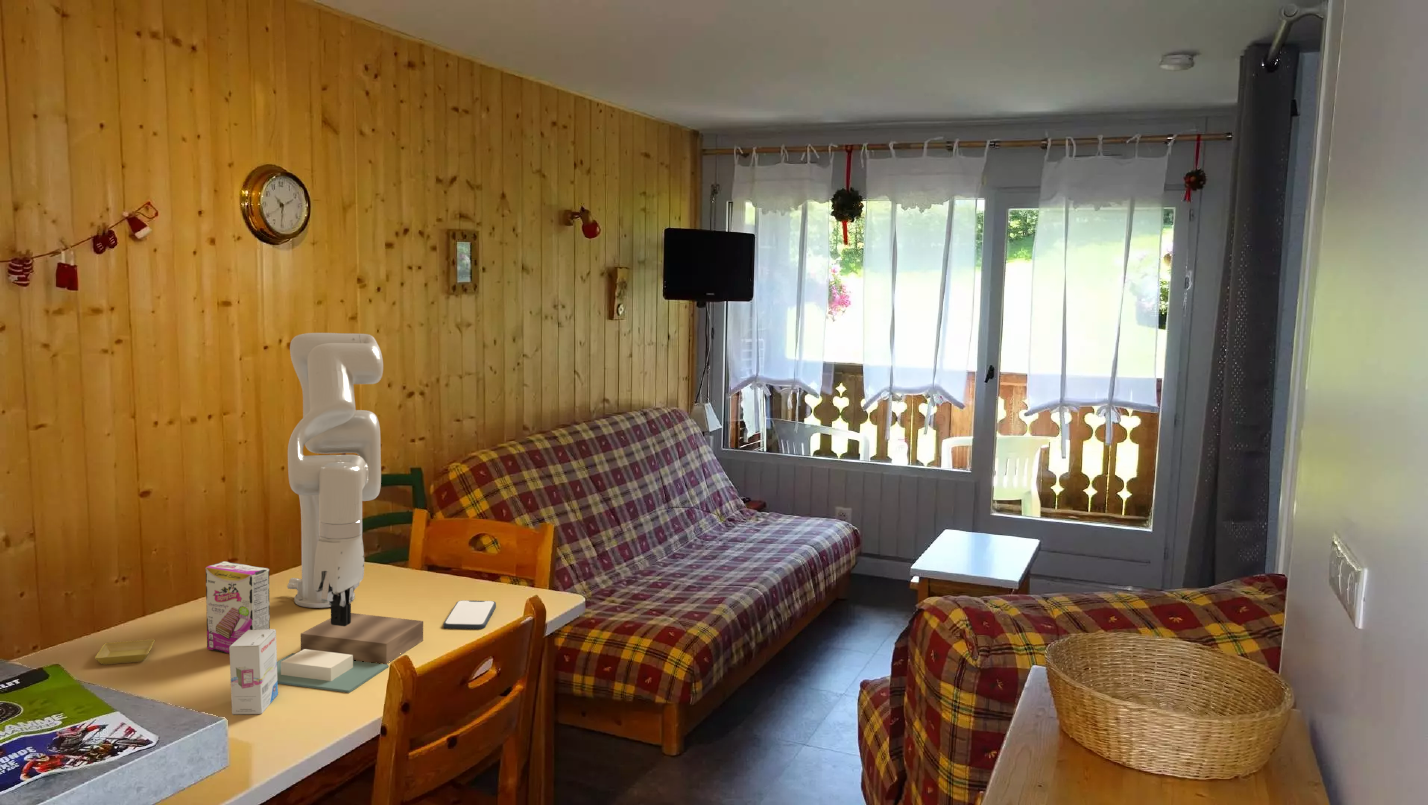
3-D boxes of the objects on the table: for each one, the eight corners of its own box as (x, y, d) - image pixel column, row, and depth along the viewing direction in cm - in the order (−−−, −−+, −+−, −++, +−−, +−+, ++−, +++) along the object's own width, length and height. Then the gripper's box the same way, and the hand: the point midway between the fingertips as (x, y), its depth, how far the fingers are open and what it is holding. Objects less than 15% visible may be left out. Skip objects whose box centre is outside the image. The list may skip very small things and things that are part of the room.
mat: (248, 679, 183) (248, 677, 183) (292, 655, 196) (292, 653, 196) (349, 692, 179) (349, 690, 179) (388, 666, 191) (388, 664, 191)
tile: (304, 648, 191) (304, 661, 191) (280, 661, 184) (280, 674, 185) (352, 654, 189) (352, 667, 189) (330, 668, 182) (330, 681, 183)
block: (300, 653, 196) (300, 633, 196) (342, 631, 210) (342, 611, 210) (386, 664, 193) (386, 643, 192) (423, 640, 206) (423, 621, 206)
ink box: (248, 694, 177) (247, 627, 175) (278, 694, 177) (278, 627, 176) (229, 714, 168) (228, 644, 167) (261, 714, 169) (260, 644, 167)
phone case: (484, 632, 214) (497, 607, 230) (484, 625, 214) (497, 600, 230) (441, 631, 214) (457, 606, 230) (441, 624, 214) (457, 599, 229)
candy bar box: (205, 650, 196) (203, 566, 195) (225, 642, 201) (224, 560, 199) (252, 659, 193) (251, 573, 191) (271, 650, 197) (270, 567, 196)
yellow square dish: (104, 653, 194) (104, 642, 194) (156, 649, 197) (155, 638, 197) (94, 669, 186) (93, 658, 186) (148, 664, 189) (147, 653, 189)
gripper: (345, 518, 199) (345, 609, 202) (298, 536, 185) (298, 635, 187) (380, 522, 198) (380, 614, 200) (335, 541, 183) (336, 640, 186)
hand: (340, 624), depth 194 cm, fingers closed
